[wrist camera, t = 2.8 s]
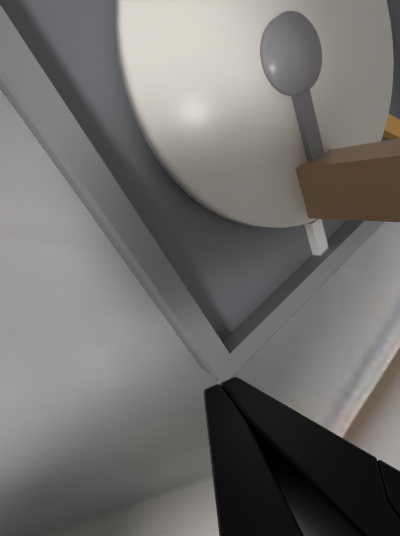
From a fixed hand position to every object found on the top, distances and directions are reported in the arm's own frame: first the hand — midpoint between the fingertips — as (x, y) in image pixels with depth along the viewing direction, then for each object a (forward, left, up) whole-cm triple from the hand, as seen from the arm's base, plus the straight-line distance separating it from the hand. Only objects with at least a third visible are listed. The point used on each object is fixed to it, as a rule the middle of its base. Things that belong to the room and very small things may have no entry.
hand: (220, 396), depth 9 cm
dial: (+12, +5, -7) cm, 14 cm away
